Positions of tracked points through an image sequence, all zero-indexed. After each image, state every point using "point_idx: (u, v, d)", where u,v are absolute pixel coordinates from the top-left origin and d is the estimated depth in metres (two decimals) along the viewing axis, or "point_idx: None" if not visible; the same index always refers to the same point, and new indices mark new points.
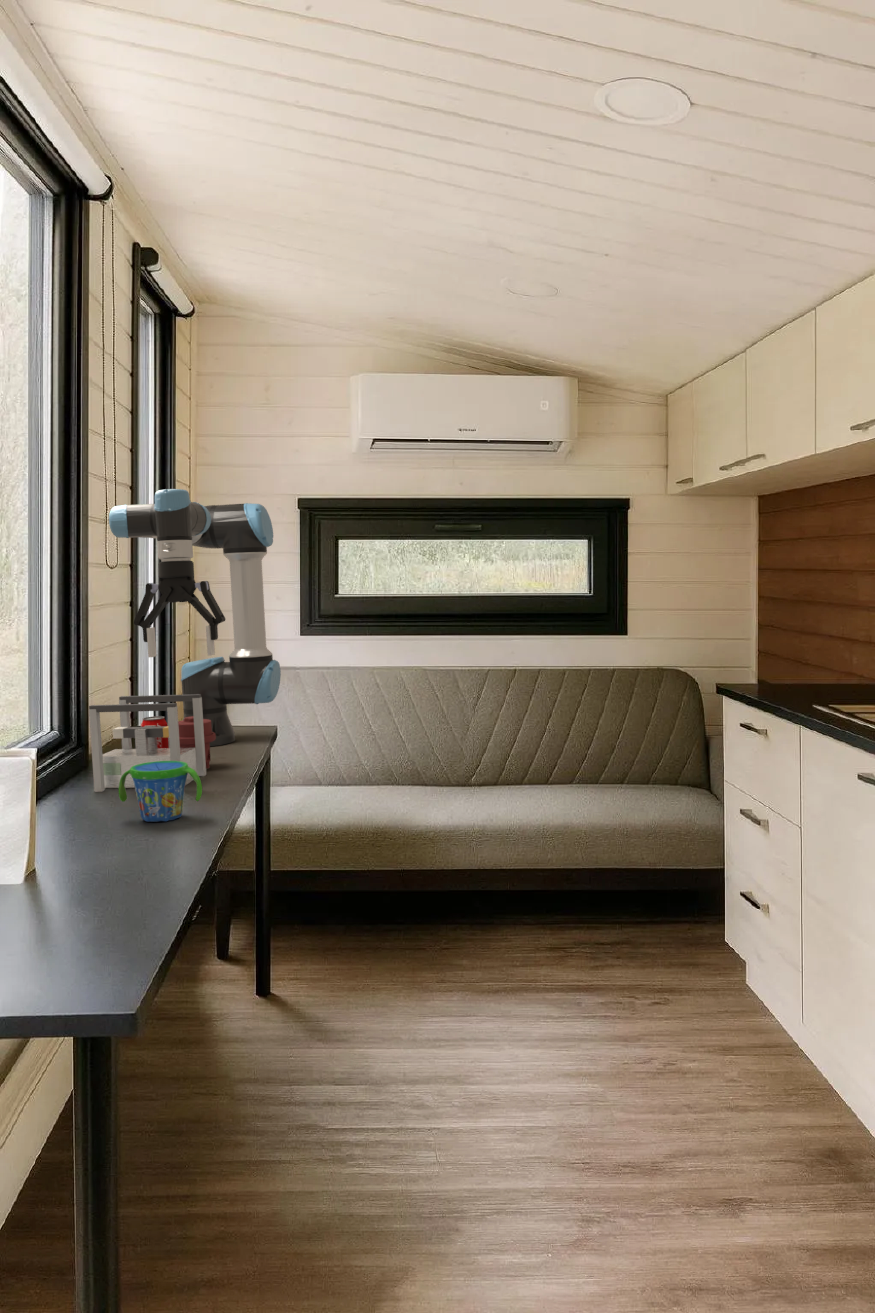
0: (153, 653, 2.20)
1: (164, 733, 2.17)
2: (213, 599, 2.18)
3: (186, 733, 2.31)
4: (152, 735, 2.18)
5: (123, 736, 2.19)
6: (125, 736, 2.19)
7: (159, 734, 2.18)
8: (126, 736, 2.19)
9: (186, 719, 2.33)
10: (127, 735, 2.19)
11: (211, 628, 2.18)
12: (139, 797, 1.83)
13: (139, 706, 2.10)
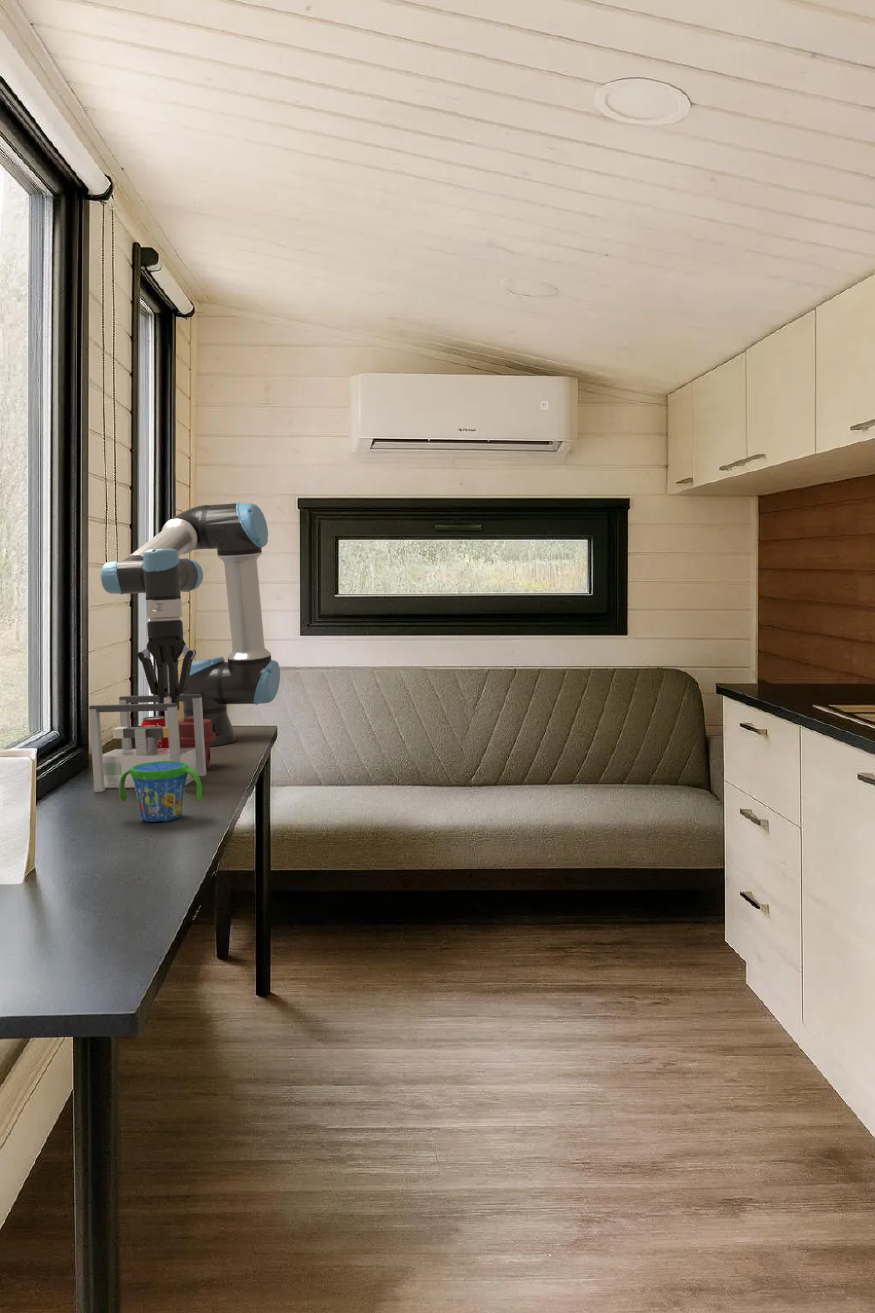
0: None
1: (164, 733, 2.17)
2: (188, 670, 2.17)
3: (186, 733, 2.31)
4: (152, 735, 2.18)
5: (123, 736, 2.19)
6: (125, 736, 2.19)
7: (159, 734, 2.18)
8: (126, 736, 2.19)
9: (186, 719, 2.33)
10: (127, 735, 2.19)
11: (172, 699, 2.17)
12: (139, 797, 1.83)
13: (139, 706, 2.10)
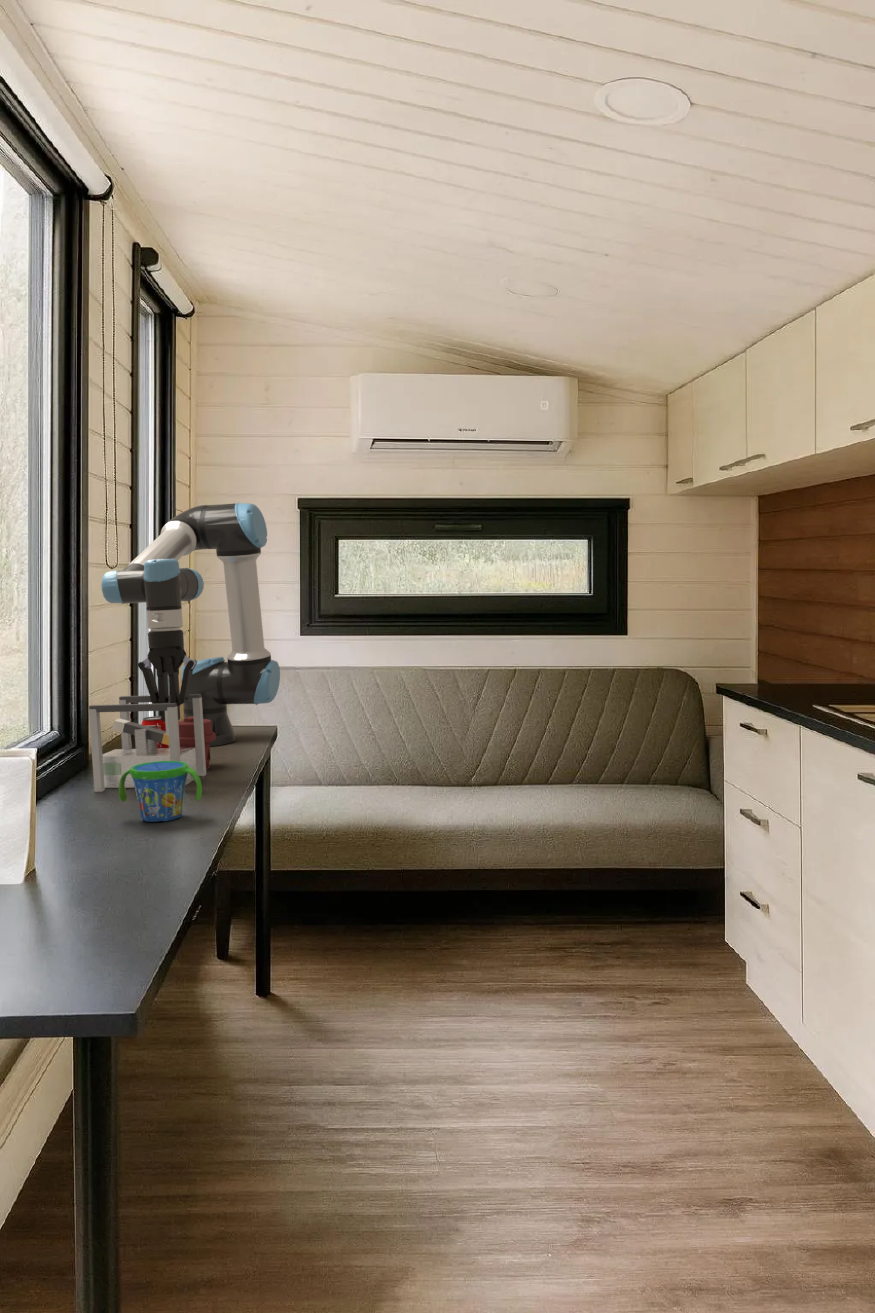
0: None
1: (163, 739, 2.18)
2: (189, 680, 2.17)
3: (186, 733, 2.31)
4: (151, 738, 2.18)
5: (123, 730, 2.19)
6: (125, 731, 2.19)
7: (158, 739, 2.18)
8: (126, 731, 2.18)
9: (186, 719, 2.33)
10: (127, 731, 2.18)
11: None
12: (139, 797, 1.83)
13: (139, 706, 2.10)
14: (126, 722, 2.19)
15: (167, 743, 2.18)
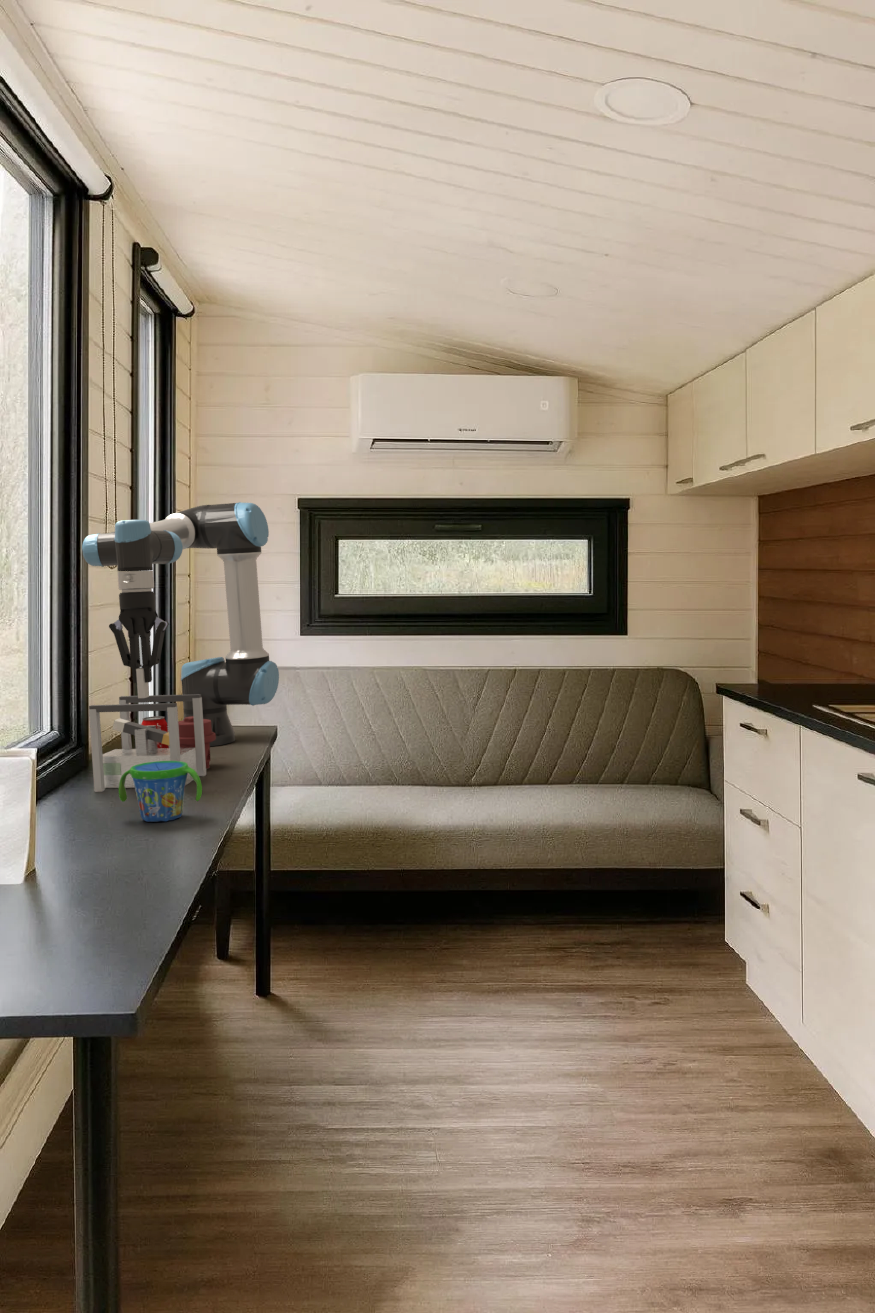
0: None
1: (163, 739, 2.18)
2: (161, 642, 2.17)
3: (186, 733, 2.31)
4: (151, 738, 2.18)
5: (123, 730, 2.19)
6: (125, 731, 2.19)
7: (158, 739, 2.18)
8: (126, 731, 2.18)
9: (186, 719, 2.33)
10: (127, 731, 2.18)
11: (145, 670, 2.18)
12: (139, 797, 1.83)
13: (139, 706, 2.10)
14: (126, 722, 2.19)
15: (167, 743, 2.18)
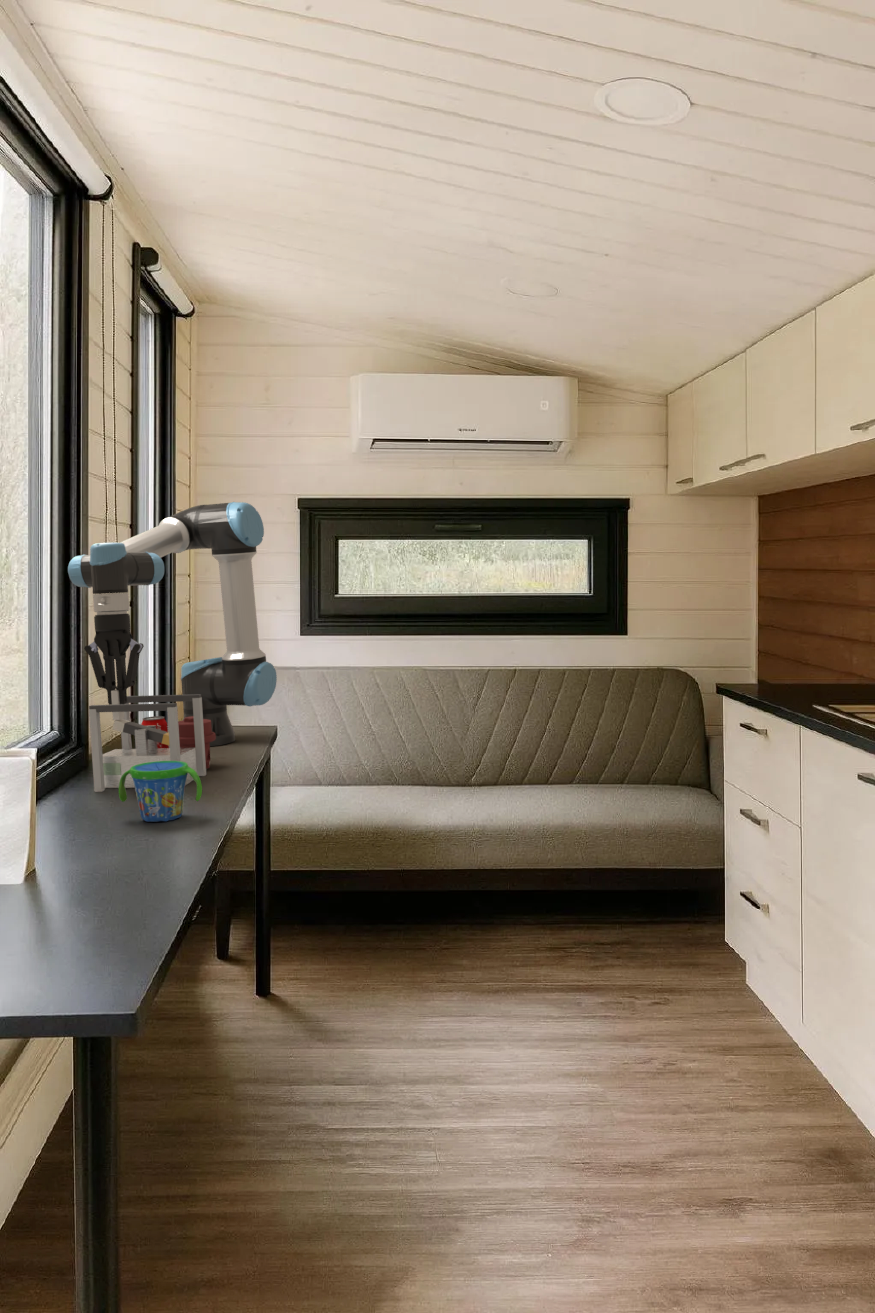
0: None
1: (163, 739, 2.18)
2: (135, 664, 2.18)
3: (186, 733, 2.31)
4: (151, 738, 2.18)
5: (123, 730, 2.19)
6: (125, 731, 2.19)
7: (158, 739, 2.18)
8: (126, 731, 2.18)
9: (186, 719, 2.33)
10: (127, 731, 2.18)
11: (120, 692, 2.19)
12: (139, 797, 1.83)
13: (139, 706, 2.10)
14: (126, 722, 2.19)
15: (167, 743, 2.18)
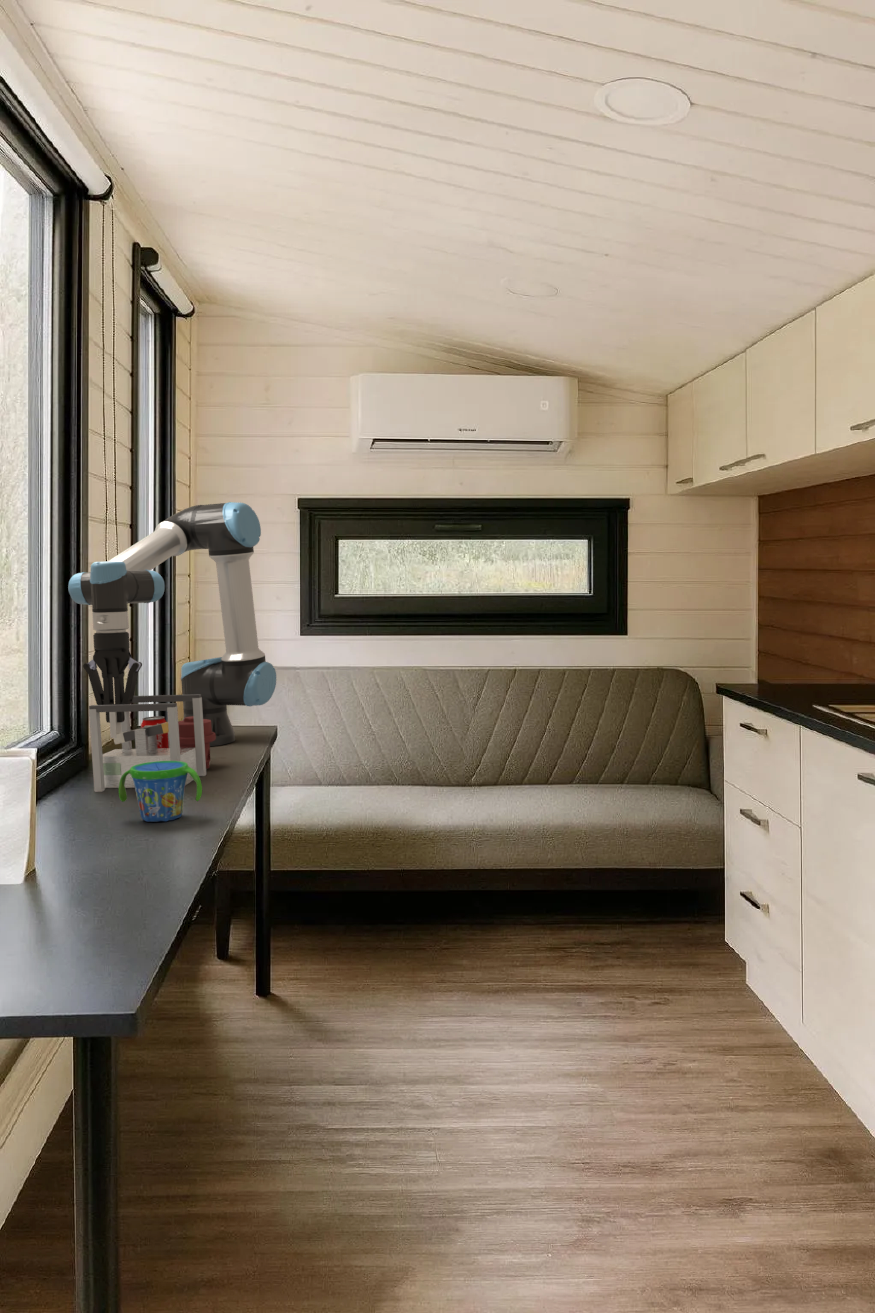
0: None
1: (163, 729, 2.17)
2: (134, 682, 2.19)
3: (186, 733, 2.31)
4: (152, 733, 2.18)
5: (124, 740, 2.19)
6: (126, 740, 2.19)
7: (158, 731, 2.18)
8: (127, 739, 2.19)
9: (186, 719, 2.33)
10: (128, 738, 2.19)
11: None
12: (139, 797, 1.83)
13: (139, 706, 2.10)
14: (124, 732, 2.20)
15: (168, 730, 2.17)
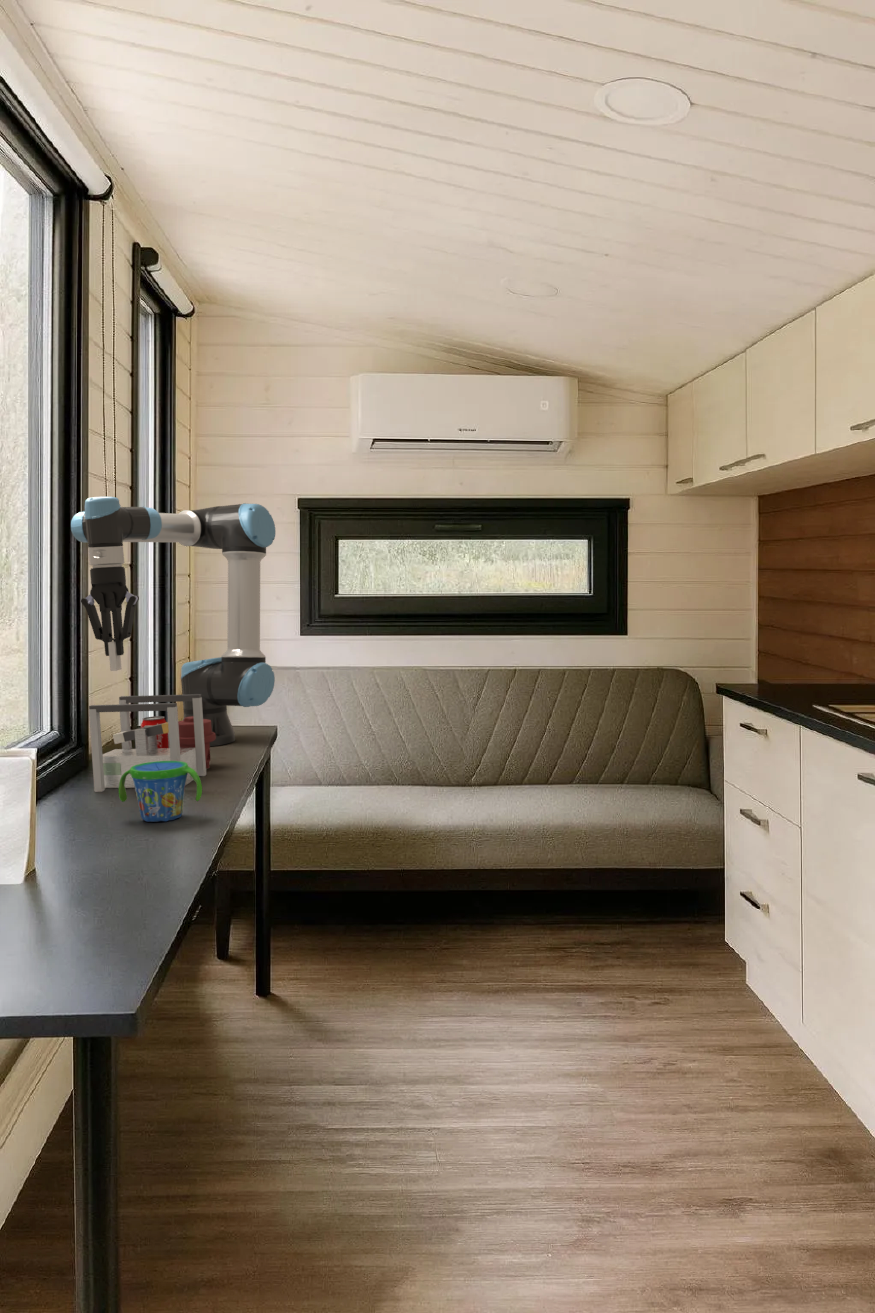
0: None
1: (164, 729, 2.17)
2: (131, 615, 2.23)
3: (186, 733, 2.31)
4: (152, 733, 2.18)
5: (124, 740, 2.19)
6: (126, 739, 2.19)
7: (158, 731, 2.18)
8: (127, 739, 2.19)
9: (186, 719, 2.33)
10: (128, 738, 2.19)
11: (117, 644, 2.24)
12: (139, 797, 1.83)
13: (139, 706, 2.10)
14: (124, 732, 2.20)
15: (168, 731, 2.17)
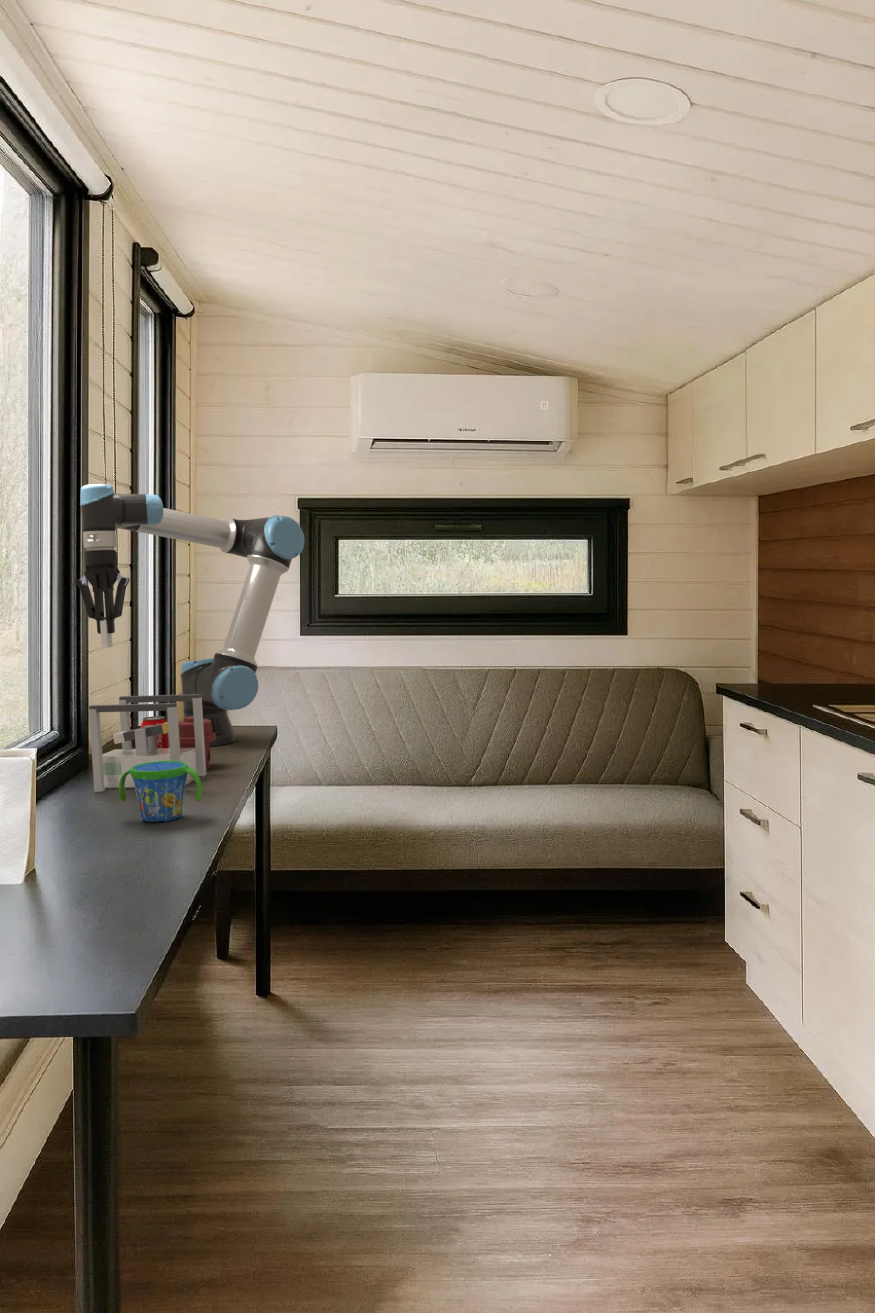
0: None
1: (164, 729, 2.17)
2: (122, 596, 2.38)
3: (186, 733, 2.31)
4: (152, 733, 2.18)
5: (124, 740, 2.19)
6: (126, 739, 2.19)
7: (158, 731, 2.18)
8: (127, 739, 2.19)
9: (186, 719, 2.33)
10: (128, 738, 2.19)
11: (108, 622, 2.38)
12: (139, 797, 1.83)
13: (139, 706, 2.10)
14: (124, 732, 2.20)
15: (168, 731, 2.17)
